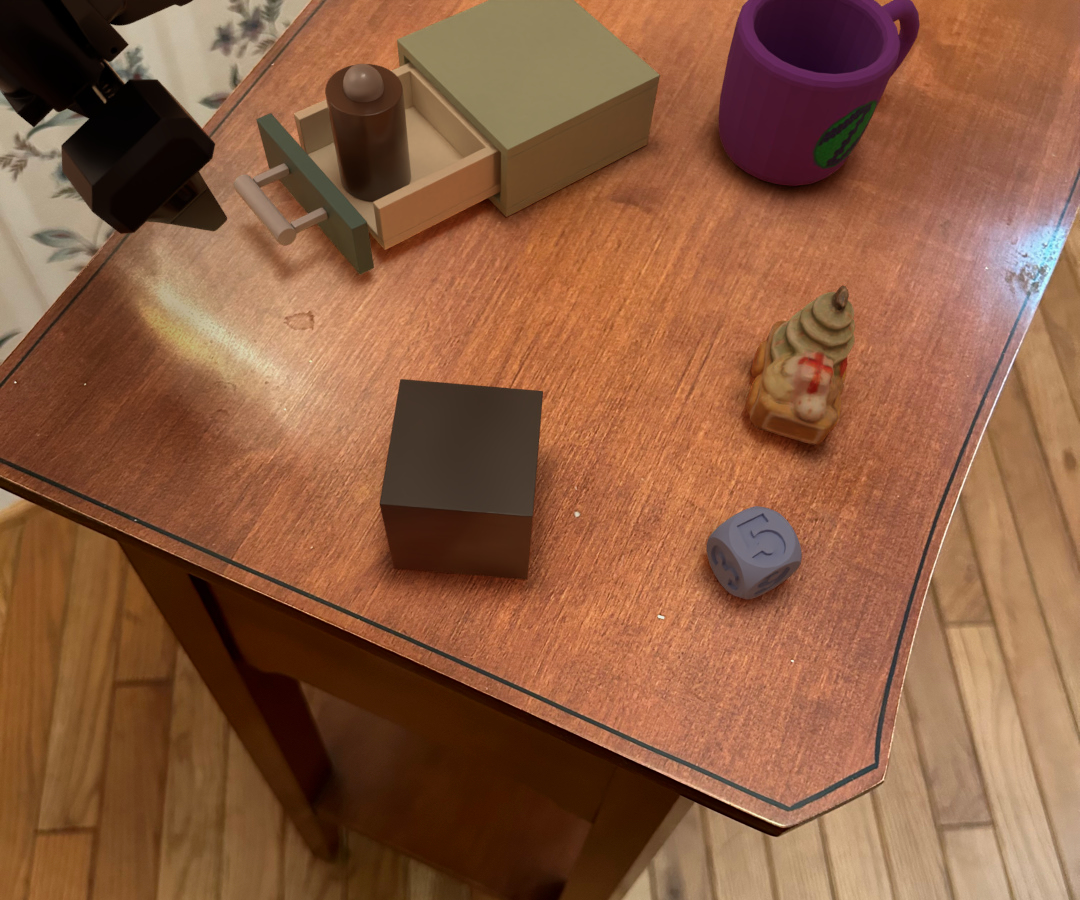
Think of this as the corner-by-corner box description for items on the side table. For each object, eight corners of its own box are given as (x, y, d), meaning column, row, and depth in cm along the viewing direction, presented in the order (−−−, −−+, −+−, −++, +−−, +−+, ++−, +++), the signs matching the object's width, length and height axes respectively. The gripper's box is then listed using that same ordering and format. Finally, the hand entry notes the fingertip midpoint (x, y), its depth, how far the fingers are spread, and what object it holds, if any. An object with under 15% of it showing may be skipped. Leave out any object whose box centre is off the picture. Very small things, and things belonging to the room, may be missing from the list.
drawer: (310, 301, 64) (299, 255, 60) (220, 190, 68) (204, 140, 64) (506, 200, 69) (507, 152, 65) (412, 103, 73) (407, 52, 69)
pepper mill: (353, 210, 66) (335, 102, 58) (331, 162, 68) (311, 52, 60) (420, 191, 67) (411, 84, 59) (397, 145, 69) (385, 35, 61)
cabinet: (506, 217, 69) (507, 149, 64) (403, 111, 74) (396, 39, 68) (647, 144, 73) (660, 74, 68) (542, 47, 78) (546, -25, 72)
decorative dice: (753, 527, 58) (770, 496, 55) (790, 580, 57) (810, 551, 53) (699, 554, 57) (713, 523, 54) (736, 608, 56) (752, 580, 52)
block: (393, 568, 56) (379, 504, 49) (411, 454, 60) (400, 378, 52) (527, 580, 56) (533, 516, 49) (537, 465, 60) (543, 390, 52)
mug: (773, 220, 70) (814, 104, 61) (679, 128, 74) (704, 7, 65) (937, 135, 75) (997, 16, 66) (840, 54, 79) (885, -69, 70)
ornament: (833, 459, 61) (893, 363, 52) (739, 443, 61) (782, 345, 52) (837, 361, 64) (893, 256, 56) (748, 346, 65) (789, 240, 56)
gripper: (184, -76, 36) (371, 172, 50) (-5, -265, 43) (207, 0, 57) (-23, 126, 37) (220, 313, 51) (-176, -93, 43) (76, 127, 58)
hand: (182, 177), depth 54 cm, fingers open, 9 cm apart
